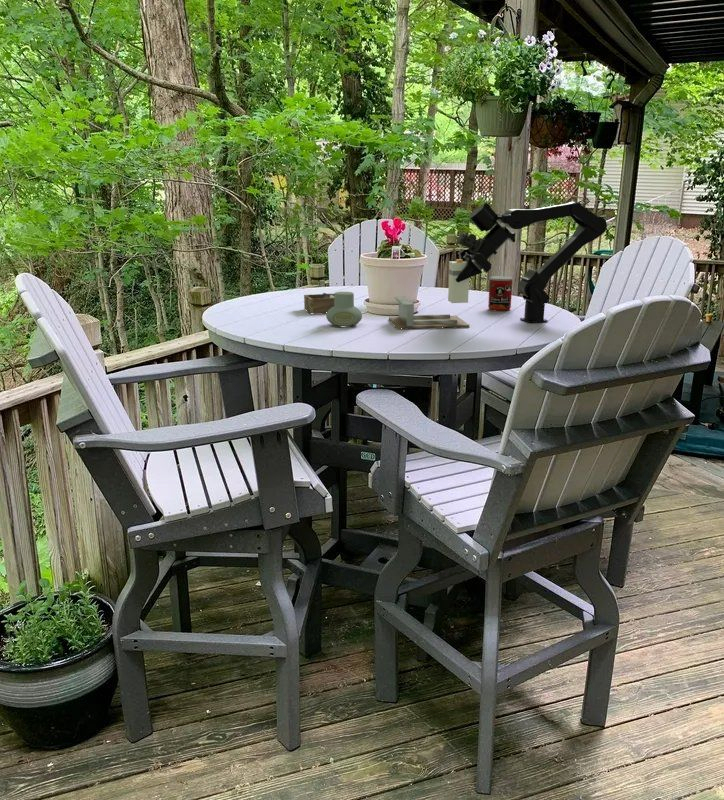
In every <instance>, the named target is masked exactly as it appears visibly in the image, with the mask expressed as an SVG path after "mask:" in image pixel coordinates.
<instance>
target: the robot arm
mask: <svg viewBox="0 0 724 800" xmlns="http://www.w3.org/2000/svg"><path fill="white" fill-rule="evenodd" d="M567 217H570V218H571V219H572V220H573V221H574V223H576V225H577V226H576V227H575V230H574V233H573V234H572V236H571V237H570V238H569V239H568V240H567V241H566V242H565V243H563V245H562V246H561V247H560V248H558V249H557V251H556V252H554V253H553V255H551V257H550V258H548V259H547V261H545V263H543V264H542V265H541V266H540V267H539V268H537V269H536V270H535V269H532V268H529V269H528V270H527V271H526V273H524V275H522V276H520V278H519V279H520V280H519V281H518V283H517V289H518V291H519V294H521V296H522V298H523V300H524V301H525V304H524V316H523V317H519V320H521V321H523V322H526V323H531V324H534V323H548V322H549V320H548V319H545V306H546V304H548V302H549V300H550V295H548V294H547V293H546V291H545V289H546V288H547V286H548V284H549V283H550V279H551V278H552V277H553V276H554V275H555V274H556V273H557V272H558V271H559V270H561V268H562V267H563V266H564V265H565V264H566V263H567V262H569V260H571V259H572V258H573V256H575V255H576V254H577V253H578V252H579V251H581V249H582V248H583V247H584V246H586V245H588V244H589V243H591V242H593V241H595V240H596V239H598V238H599V237H601V236H602V235H603V234H605V233H606V231H607V229H608V228H607V227H608V224H607V220H606V219H605V218H604V217H603V216H598V215H596V214H595V213H593V212H592V211H591V210H590V209H588V208H586V207H585V206H583V205H582V204H581V203H580V202H578V201H569V202H567V203H562V204H556V205H549V206H546V207H544V206H543V207H538V208H533V209H527V208H526V209H525V208H523V209H521V208H510V209H507V210H505V212H504V213H500V214H499V213H496V211H495V210H493V209H492V208H491V206H490V204H489V203H488V202H484V203H483V204H481V205H480V206H478V207H477V208H476V209H474V210H472V212H471V213H470V214H469V216H468V219H469V220H470V222H472V224H474V226H475V227H476V229H478V230H479V231H480V232H484V231H485V233H486V232H487V233H486V234H485V235H484V236H483V237H479V238H478V239H477V235H476V234H474V233H469V234H465V233H461V232H460V233H459V236H458V238H457V240H456V244H458V245H462V246H463V247H466V248H461V249H460V250H459V251H458V252H457V254H458V258H459V259H462V260H463V261H466V266H465V267H464V269H463V270H462V272H461V273H460V274H459V276H458V277H457V278H456V281H457V282H461V281H463V280H465V279H468V278H469V279H470V278H472V277H475V276H477V275H480V274H483V273H486V274H487V273H488V272H489V271H490V270H492V263H491V262H490V261H489V259H490V258H491V257H492V256H493V255H497V254H498V250H500V248H501V247H502V246H503V245H504V244H505V243H506V241H509V242H510V243H516V233H515V232H511V231H510V229H512V230H521V229H524V228H526V227H529V226H531V225H533V224H536V223H537V222H544V221H550V220H556V219H559V218H567ZM500 223H501V224H503V225H504V226H502V225H500Z"/></svg>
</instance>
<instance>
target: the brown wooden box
mask: <svg viewBox="0 0 724 800" xmlns="http://www.w3.org/2000/svg"><path fill="white" fill-rule="evenodd" d="M322 294H323V293H319V294H304V295H303V297H304V298H303V299H304V301H303V303H304V305H303V306H304V308H303V309H304V310H305V309H306V310H307V311H308V312H307V311H306V310H305V311H306V312H307V313H309V312H310V313H324V314H327V313H326V312H328V310H329V309H331V308H332V307H334V298H329V296H330V295H333V296H334V294H335V293H327V294H328V298H321V295H322ZM317 296H318V297H319V298H317ZM310 313H309V314H310Z"/></svg>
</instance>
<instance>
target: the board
mask: <svg viewBox="0 0 724 800" xmlns="http://www.w3.org/2000/svg"><path fill="white" fill-rule="evenodd" d="M388 320H389V322H390V321H391V322H392V323H393V324H394V325H395V326H394V325H393V324H392V323H391V322H390V323H391V324H392V325H393V326H394V327H395V329H396V328H397V329H398V330H413V329H412V328H437V329H443V328H442V327H469V328H470V327H471V326H470V324H469V323H467V322H466V321H464V320H463V319H462V318H460V317H459V316H457V315H451V314H450V313H449V314H448V313H447V314H414V326H406V325H405V324H404V323H403V322H402V321H401V319H400V318H399V317H398V316H391V317H390V316H389V317H388ZM401 328H402V329H401ZM406 328H408V329H406ZM397 329H396V330H397Z"/></svg>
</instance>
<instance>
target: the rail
mask: <svg viewBox="0 0 724 800" xmlns="http://www.w3.org/2000/svg"><path fill="white" fill-rule="evenodd" d="M394 299H395V300H396V301H397V302H398V312H397V313H398V316H397V317H399V318H400V319H401V321H402V322H403V323H404V324H405V325H406V326H414V315H415V314H414V313H415V312H414V311H415V303H414V302H412V301H411V300H409V298H407V296H394Z"/></svg>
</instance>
